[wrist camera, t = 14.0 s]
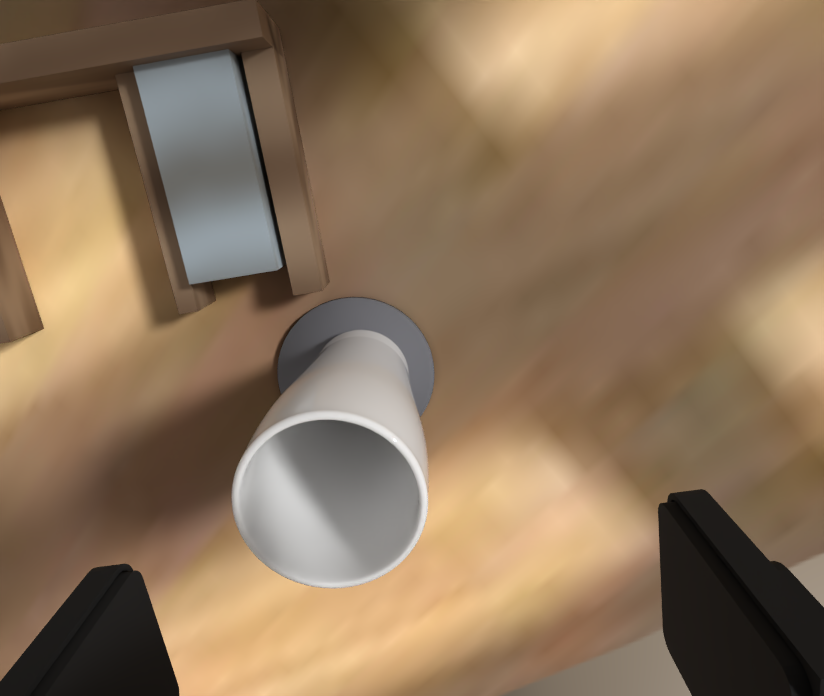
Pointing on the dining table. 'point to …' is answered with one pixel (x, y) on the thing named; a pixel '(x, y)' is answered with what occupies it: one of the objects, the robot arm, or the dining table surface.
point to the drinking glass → (337, 469)
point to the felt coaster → (357, 316)
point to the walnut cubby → (185, 145)
